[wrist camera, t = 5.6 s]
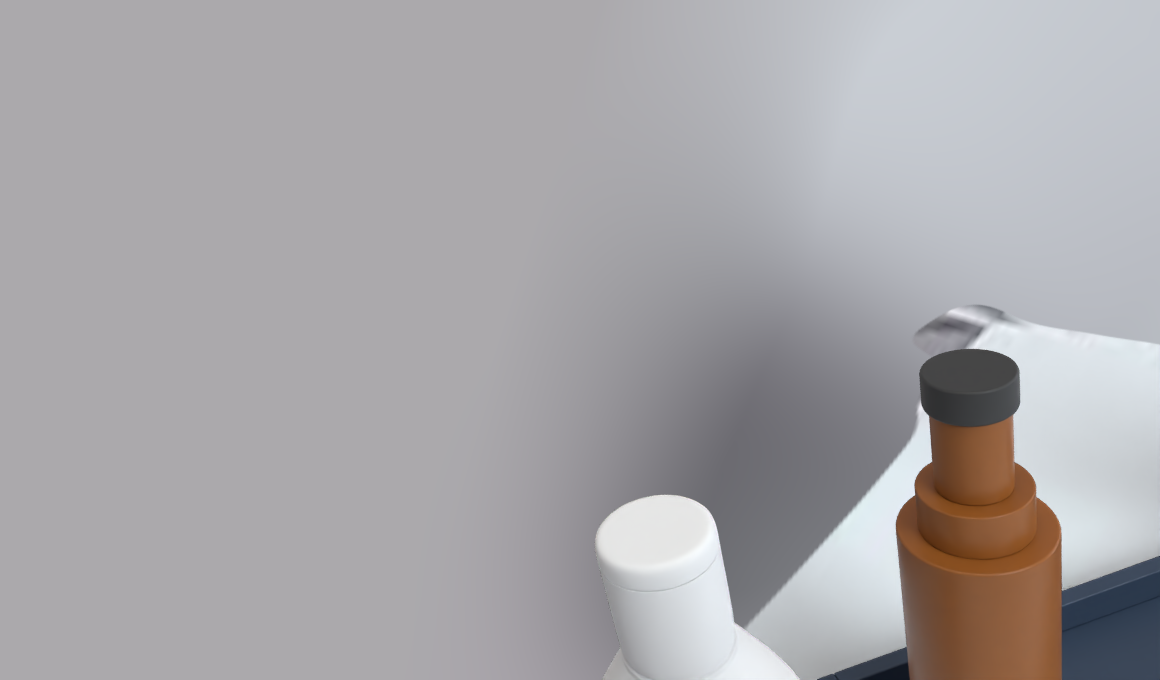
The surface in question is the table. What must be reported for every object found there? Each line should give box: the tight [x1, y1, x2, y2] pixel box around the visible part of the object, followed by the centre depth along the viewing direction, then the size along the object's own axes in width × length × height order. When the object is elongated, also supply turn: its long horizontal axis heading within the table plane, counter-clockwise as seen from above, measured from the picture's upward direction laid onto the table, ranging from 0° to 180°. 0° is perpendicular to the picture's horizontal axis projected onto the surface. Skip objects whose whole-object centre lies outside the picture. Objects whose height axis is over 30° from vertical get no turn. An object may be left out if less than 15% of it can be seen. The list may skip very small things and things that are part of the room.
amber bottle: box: [896, 349, 1062, 680], centre depth 32 cm, size 5×5×18 cm
